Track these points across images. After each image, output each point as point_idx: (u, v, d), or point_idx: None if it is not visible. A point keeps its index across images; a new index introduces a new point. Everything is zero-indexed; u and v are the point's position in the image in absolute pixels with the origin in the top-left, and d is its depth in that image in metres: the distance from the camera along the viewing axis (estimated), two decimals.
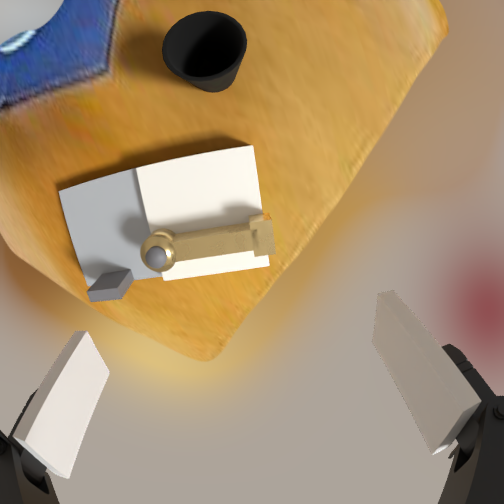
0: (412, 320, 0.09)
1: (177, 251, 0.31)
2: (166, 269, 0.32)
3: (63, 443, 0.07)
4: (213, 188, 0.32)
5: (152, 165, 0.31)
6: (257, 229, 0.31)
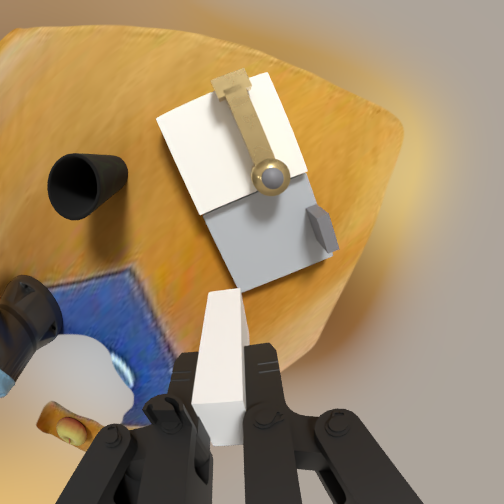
0: (233, 315, 0.11)
1: (263, 158, 0.31)
2: (285, 167, 0.31)
3: None
4: (202, 139, 0.33)
5: (194, 200, 0.35)
6: (223, 89, 0.27)
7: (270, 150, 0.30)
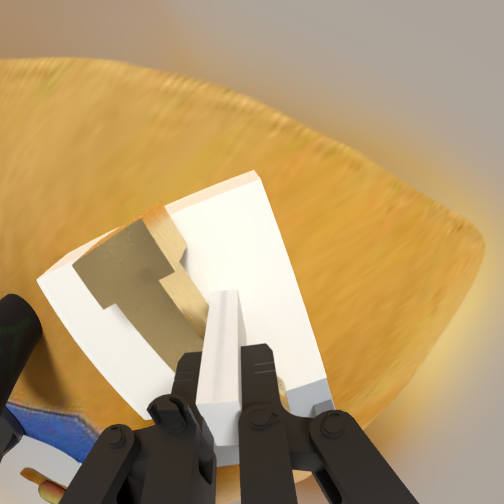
0: (230, 316, 0.11)
1: None
2: None
3: None
4: (123, 331, 0.16)
5: (131, 405, 0.18)
6: (106, 288, 0.11)
7: None
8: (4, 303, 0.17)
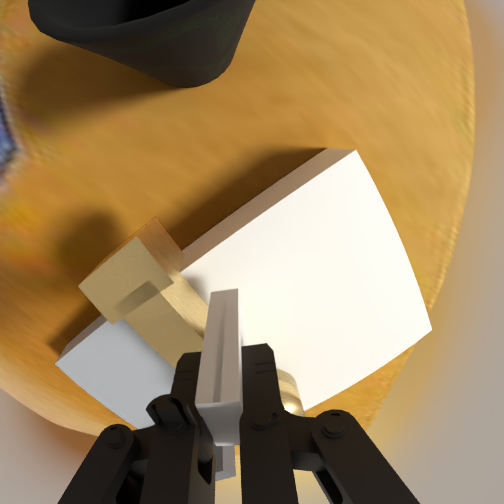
0: (231, 315, 0.11)
1: None
2: (294, 408, 0.15)
3: None
4: (315, 270, 0.15)
5: None
6: (112, 304, 0.11)
7: None
8: None
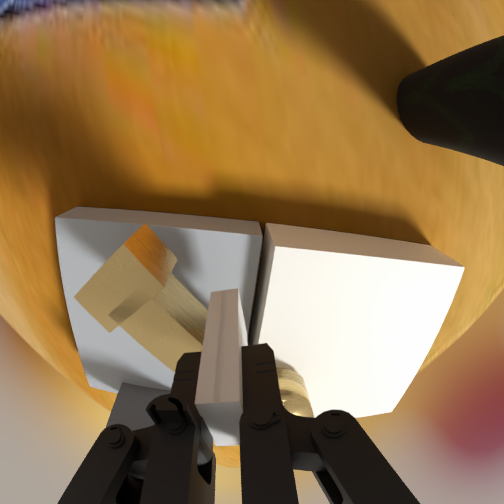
0: (231, 316, 0.11)
1: None
2: (301, 407, 0.14)
3: None
4: (392, 320, 0.17)
5: (314, 253, 0.15)
6: (107, 313, 0.11)
7: None
8: None
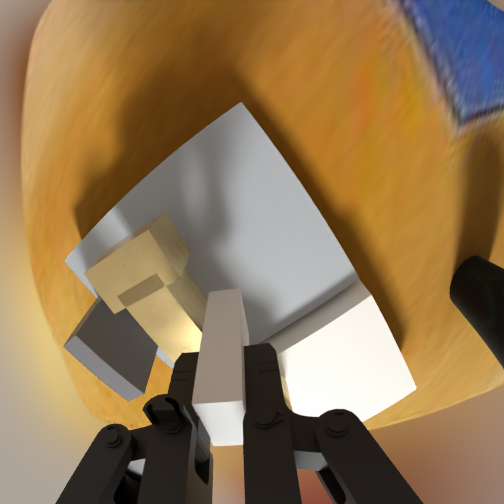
0: (233, 315, 0.11)
1: None
2: None
3: None
4: (362, 391, 0.20)
5: (380, 316, 0.17)
6: (116, 294, 0.12)
7: None
8: None
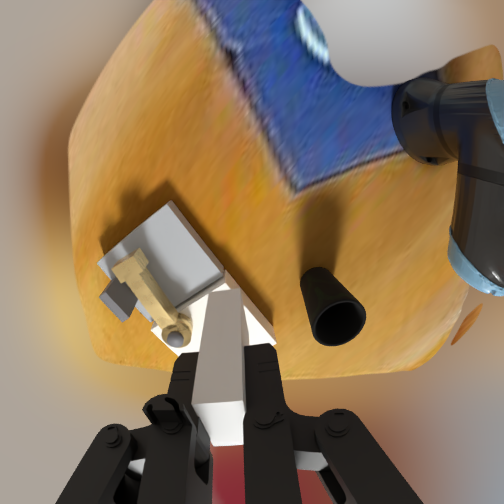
0: (234, 315, 0.11)
1: (166, 324, 0.38)
2: (185, 329, 0.38)
3: None
4: None
5: None
6: (122, 276, 0.35)
7: (170, 319, 0.37)
8: None
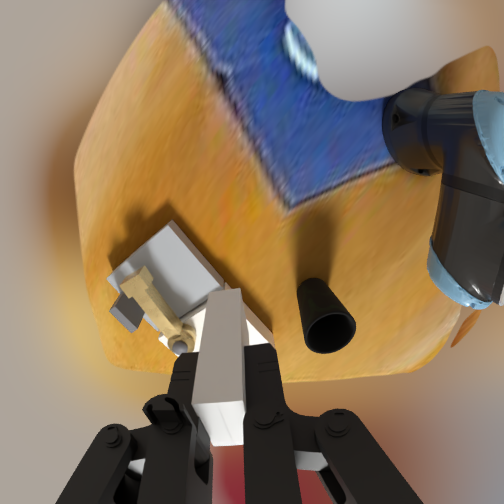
0: (233, 315, 0.11)
1: (171, 334, 0.41)
2: (188, 338, 0.42)
3: None
4: None
5: None
6: (129, 292, 0.38)
7: (174, 330, 0.41)
8: None
